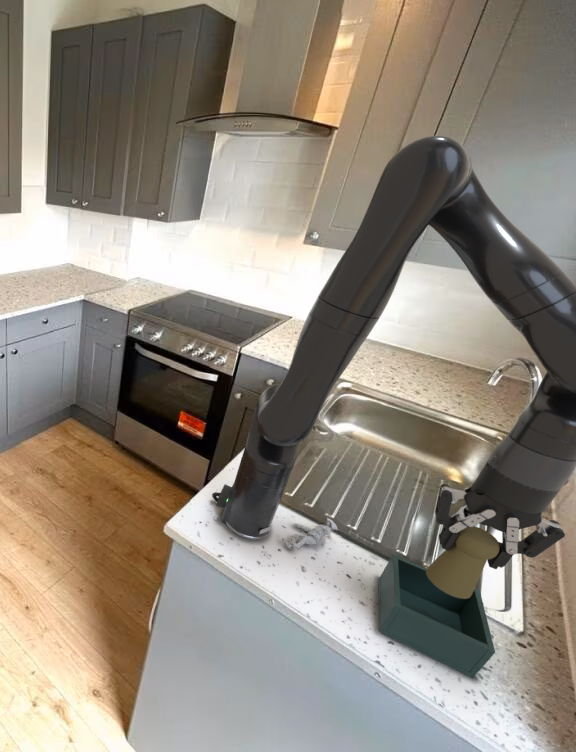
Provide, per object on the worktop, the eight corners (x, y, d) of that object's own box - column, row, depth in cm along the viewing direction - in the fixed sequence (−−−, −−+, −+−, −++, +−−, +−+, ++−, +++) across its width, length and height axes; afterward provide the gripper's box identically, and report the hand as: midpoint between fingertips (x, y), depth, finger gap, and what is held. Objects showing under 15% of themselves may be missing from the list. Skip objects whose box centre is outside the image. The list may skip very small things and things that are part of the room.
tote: (378, 631, 73) (395, 605, 70) (378, 579, 83) (392, 554, 80) (472, 678, 67) (495, 652, 64) (460, 616, 77) (480, 590, 74)
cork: (440, 595, 68) (474, 546, 63) (417, 563, 73) (447, 516, 68) (481, 602, 67) (519, 553, 62) (456, 569, 73) (488, 522, 68)
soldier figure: (272, 537, 92) (309, 507, 95) (285, 558, 91) (322, 527, 95) (297, 541, 84) (336, 508, 88) (312, 564, 84) (351, 529, 87)
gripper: (587, 477, 59) (521, 561, 67) (456, 439, 66) (410, 519, 74) (609, 509, 54) (535, 597, 61) (464, 464, 60) (413, 548, 68)
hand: (467, 554), depth 67 cm, fingers closed on cork, 5 cm apart
